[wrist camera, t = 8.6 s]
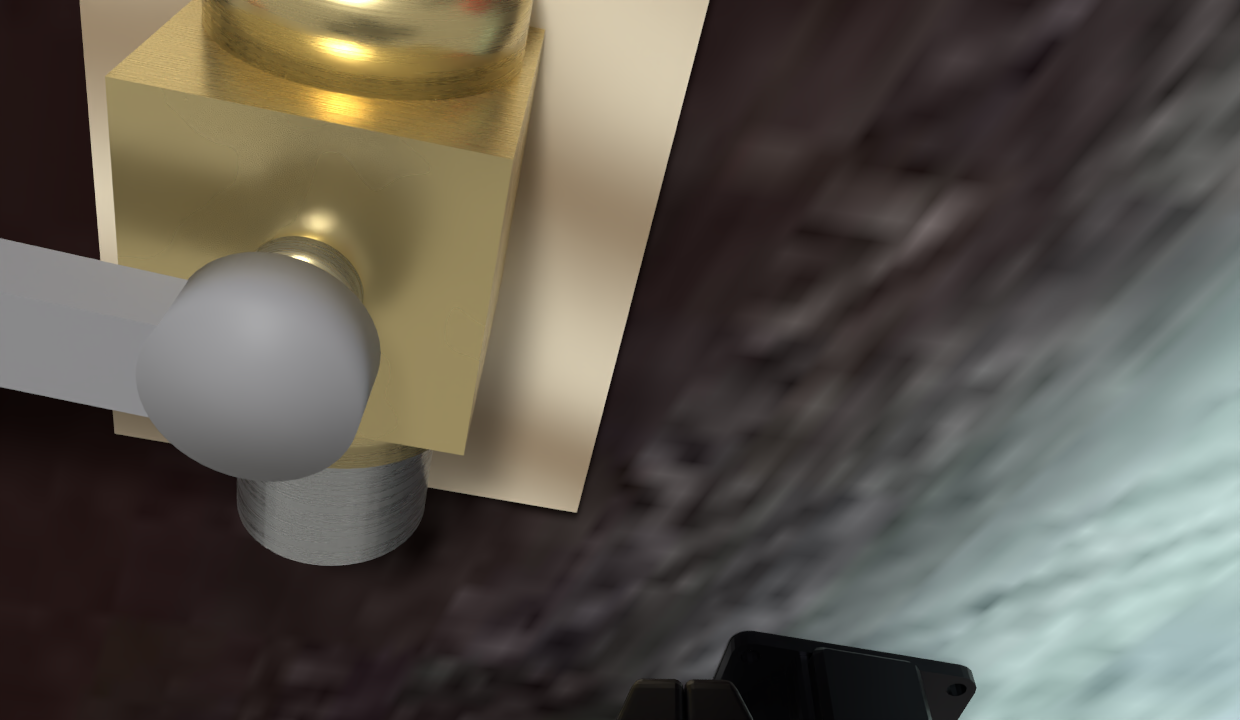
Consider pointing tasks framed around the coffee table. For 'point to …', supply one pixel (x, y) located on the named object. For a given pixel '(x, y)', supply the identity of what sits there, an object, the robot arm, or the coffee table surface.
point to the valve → (340, 209)
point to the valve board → (521, 229)
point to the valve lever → (197, 353)
